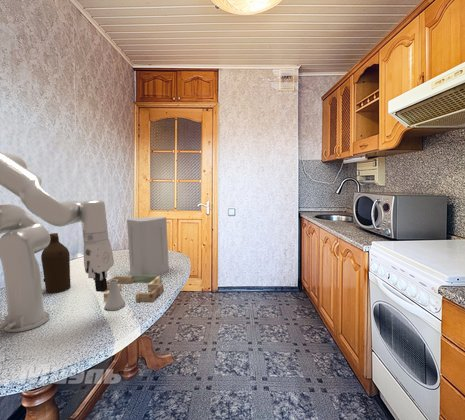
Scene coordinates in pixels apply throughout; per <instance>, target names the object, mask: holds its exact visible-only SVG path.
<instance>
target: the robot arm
mask: <svg viewBox="0 0 465 420" xmlns="http://www.w3.org/2000/svg"><path fill="white" fill-rule="evenodd" d="M41 185H42V179H41V177H40V176H39V175H37V174H35V173H34V172H32V171H31V170H29V169H28V165H27V163H26V162H25V160H24V159H23V158H21V157H20V156H18V155H16V154H12V153H7V152H0V186H2V187H3V188H5V189H7V191H9V192H11V193H12V194H13V195H15V196H17V197H18V198H19V199H20V201H21V202H22V203H23V205H24V206H25V208H26V209H27V210H28V211H29V212H30V213H32V214H33V215H35V216H36V217H37V218H39V219H41V220H42V221H43V222H44V223H45V222H46V223H47V224H49V225H51V226H53V227H66V226H69V225H73V224H76V223H81V230H82V239H83V267H84V271H85V273H86V274H87V275H88V276H87V277H88V279H93V281H94V284H95V285H94V286H95V287H94V288H95V292H104V291H105V290H107V281H108V280H107V278H108V271H109V270H110V269H111V268H112V267H113V266H114V265H115V263H114V262H115V260H114V255H113V248H112V244H111V241H110V239H109V232H108V223H107V211H106V203H105V201H103V200H101V199H95V200H94V199H91V200H84V201H83V200H82V201H79V200H70V201H68V200H67V201H60V200H58V199H57V198H55V197H53V196H52V195H50V194H49V193H47V192H46V191H45V190H44V189H43V187H42V186H41ZM50 234H51V233H49V230H47V228H46V227H45V226H44V225H42V223H40V222H39V221H38V220H37V219H35V218H34V217H33V216H32V215H31V214H29V213H28V212H27V211H26V210H25V209H24V208H23V207H19V206H18V205H15V204H7V203H5V204H0V235H2V236H0V262H1V266H2V271H3V279H4V281H3V282H4V287H5V288H4V289H5V296H6V297H5V298H6V307H7V315H6V316H4V318H5V319H4V320H3V322H1V323H0V331H2V330H3V331H4V332H7V333H19V332H24V331H29V330H32V329H35V328H37V327H40V326H42V325H43V324H46V323H47V322H48V321H49V320H50V313H49V312H48V311H47V312H46V311H44V301H43V292H42V291H43V290H42V289H43V288H42V279H41V277H42V276H41V271H40V264H39V262H38V260H37V257H36V256H35V254H37V253H40V252H43V250H44V249H45V248H46V247H47V246H48V245H49V243H50ZM104 293H105V292H104Z"/></svg>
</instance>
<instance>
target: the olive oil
mask: <svg viewBox="0 0 465 420" xmlns="http://www.w3.org/2000/svg"><path fill="white" fill-rule="evenodd" d="M49 234H50V243H49V245H48V246H47V247H46V248H45V249H44V250H42V251H41V256H40V258H41V259H40V260H41V266H42V267H41V268H42V272H43V283H44V287H45V292H46V293H48V294H57V293H62V292H65V291H67V290H69V289H70V288H71V287H72V286H71V264H70V263H71V262H70V259H71V258H70V250H69V249H68V247H67V246H65V245H64V244H62V243H61V242H60V239H59V237H60V236H59V233H58V232H52V233H49Z"/></svg>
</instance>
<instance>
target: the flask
mask: <svg viewBox="0 0 465 420" xmlns="http://www.w3.org/2000/svg"><path fill="white" fill-rule="evenodd" d="M109 280H110V279H109ZM109 284H110V289H109V294H108V298H107V301H105V305H104V308H103V309H104V310H106V309H107V311H117V310H116V309H118V310H120V309H122V308H124V307H125V306H124V305H126V301H125V299H124V298H123V296H122V293H121V292H120V291H119V288H118V284H119V283H118V280H116V279H115V280H110V281H109ZM119 308H120V309H119Z"/></svg>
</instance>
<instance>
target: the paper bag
mask: <svg viewBox="0 0 465 420" xmlns="http://www.w3.org/2000/svg"><path fill="white" fill-rule="evenodd" d="M167 224H168V223H167V216H156V217H155V216H153V217H151V216H150V217H134V218H133V217H131V218H127V219H126V225H127V226H126V228H127V239H128V254H129V255H128V256H129V270H130V275H162V274H165V273H167V272H169V270H170V265H169V247H168V246H169V244H168V242H169V241H168V229H167V227H168V226H167Z"/></svg>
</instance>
